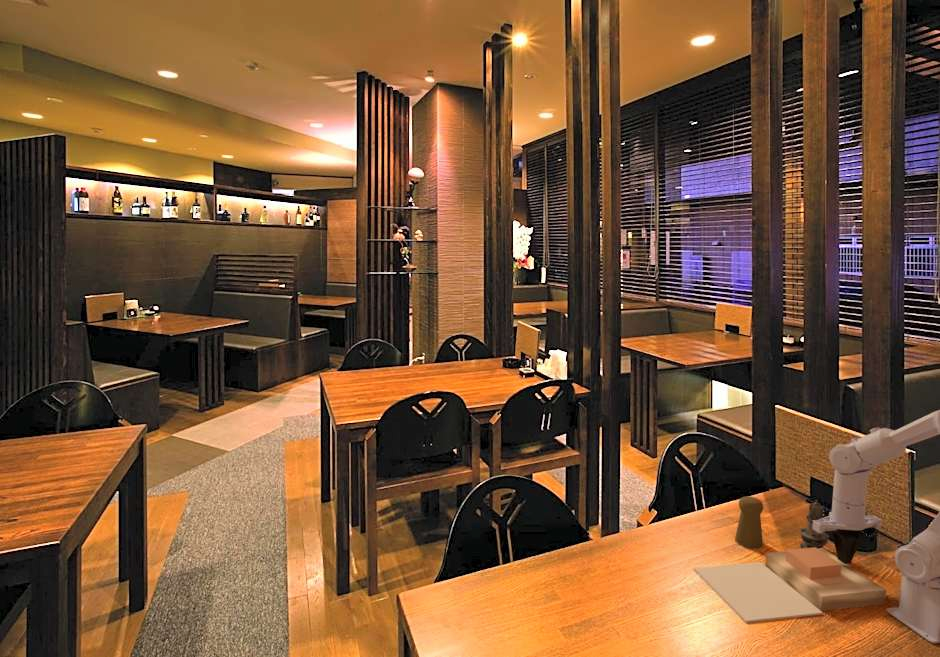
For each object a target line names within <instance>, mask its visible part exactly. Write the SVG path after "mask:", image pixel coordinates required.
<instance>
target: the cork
mask: <svg viewBox="0 0 940 657" xmlns="http://www.w3.org/2000/svg"><path fill="white" fill-rule="evenodd" d="M738 506H739V507H738V508H739V510H740V513H739V519H738V523H737V529H736V533H735V537H734V542H735V543H736V542H737V543H739V544H740V545H739V544H738V545H739V546H741V545H742V546H741V547H743V546H744V547H743V548H746V547H747V548H746V549H752V550H757V549H761V548H763V546H764V541H763V540H764V539H763V532H762V531H763V530H762V520H761V518H762V517H761V515H762V513H763V511H764V504H763V502H762V500H760V499H759V498H757V497H754V496H743V497H741V498H740V499H739V501H738ZM737 543H736V544H737Z"/></svg>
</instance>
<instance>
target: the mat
mask: <svg viewBox="0 0 940 657" xmlns="http://www.w3.org/2000/svg"><path fill="white" fill-rule="evenodd" d="M693 571H694V572H695V573H696V574H697V575H698V576H699V578H701V579H702V580H703V581H704V583H705V584H707V585H708V586H709V588H711V589H712V591H714V592H715V593H716V594H717V595H718V596H719V597H720V599H722V600H723V601H724V602H725V603H726V605H728V607H730V608H731V609H732V610H733V611H734V612H735V614H737V616H739V618H740V619H741V620H743V622H744V623H748V624H749V623H756V622H765V621H775V620H776V621H777V620H782V619H783V620H785V619H792V618H801V617H809V616H811V617H812V616H819V615H820V616H822V615H823V613H824V612H823V611H820V610H819V609H818V608H817V607H815V606H814V605H813V604H812V603H810V602H809V601H808V600H807V599H806V598H804V597H803V596H802V595H801V594H799V593H798V592H797V591H796V590H794V589H793V588H792V587H791V586H789V585H788V584H787V583H786V582H785V581H783V580H782V579H781V578H780V577H778V576H777V575H776V574H775V573H773V572H772V571H771V570H770V569H768V568H767V567H766V566H765V564H763V563H762V562H761V561H758V562H756V561H755V562H746V563H745V562H744V563H737V564H736V563H735V564H725V565H715V566H704V567H703V566H702V567H693Z"/></svg>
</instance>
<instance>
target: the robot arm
mask: <svg viewBox="0 0 940 657" xmlns="http://www.w3.org/2000/svg"><path fill="white" fill-rule="evenodd" d="M869 432H870V433H868V434H866V435H865V436H862V437H860V438H859V437H853V438H851V439H850V443H846V444H837V445H835V446H834V447H832V448H831V450H830V451H829V456H828V457H829V463H830V464H831V466H832V467H833V469H834V476H833V489H832V490H833V491H832V503H831V511H829V513H828V516H823V518H822V519H819V520H813V526H812V529H813V530H815V531H816V532H818V533H823V532H824V533H825V532H829V534H830V537H831V540H832V542H833V544H834V547H835V551H836V557H837V558H838V560H840V561H841V562H843V563H844V564H848V565H849V564H851V563H852V561H853V559H854V557H855V555H856V552H857V550H858V549H859V547H860V546H861V545H862V543H863V542H864V541H865V540H867V538H868V535H867V533H866V532H865V531H863V530H865V529H869V528H875V529H882V524H883V519H882V518H880V517H878V516H876V515H866V507H867V493H868V482H869V478H870V474H871V472H872V471H873V469H874V468H876V466H879V465H881V464H884V463H886V462H889V461H892V460H895V459H897V458H899V457H902V456H904V454H905V453H906V451H907V446H910V445H913V444H916V443H919V442H922V441H924V440H927V439H930V438H933V437H937V436H938V435H940V409H939V410H935V411H933V412H931V413H929V414H927V415H924V416H923V417H921V418H918V419H916V420H914V421H912V422H910V423H907V424H906V425H904V426H902V427H900V428H897V429H891V428H887V427H874V428H872V429H870V430H869ZM894 561H895V564H896V567H897V569H898V570H899V571H900V572H901V574H900V575H901V583H900V592H899V605H898V606H896V607H895V606H894V607H887V608H886V610H885V612H887V613H888V614H890V615H891V616H893V617H894V618H895V619H897V620H898V621H900V622H901V623H902V624H904V625H906V627H908V628H910V629H911V630H913V631H914V632H915V633H917V634H918V635H919V636H920V637H922V638H924V639H925V640H927V642H929V643H931V644H940V511H939V512H938V513H937V515H935V517H934V519H932V522H931V523H930V524H929V526H928V527H927V528H926V529H924V531H922V532H920V533H919V534H917V535H916V536H914V537H913V538H912V540H911V541H910V542H909V543H907V544H906V545H903V546H902V545H901V546H900V547H898V548H897V549H896V550H895V553H894Z"/></svg>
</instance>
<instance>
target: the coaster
mask: <svg viewBox="0 0 940 657" xmlns="http://www.w3.org/2000/svg"><path fill="white" fill-rule="evenodd" d="M785 551H786V562H788V563H789V564H790V565H792V566H793V567H794V568H796V569H797V570H798V571H800V572H801V573H802V574H804V575H805V576H806V577H807V578H809V579H818V578H828V577H838V576H841V566H842V565H841V564H840V563H838V562H837V561H835V560H834V559H832V558H831V557H829V556H828V555H826V554H825V553H823V552H822V551H820V550H819V549H817V548H816V547H813V548H794V549H793V548H791V549H785Z"/></svg>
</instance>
